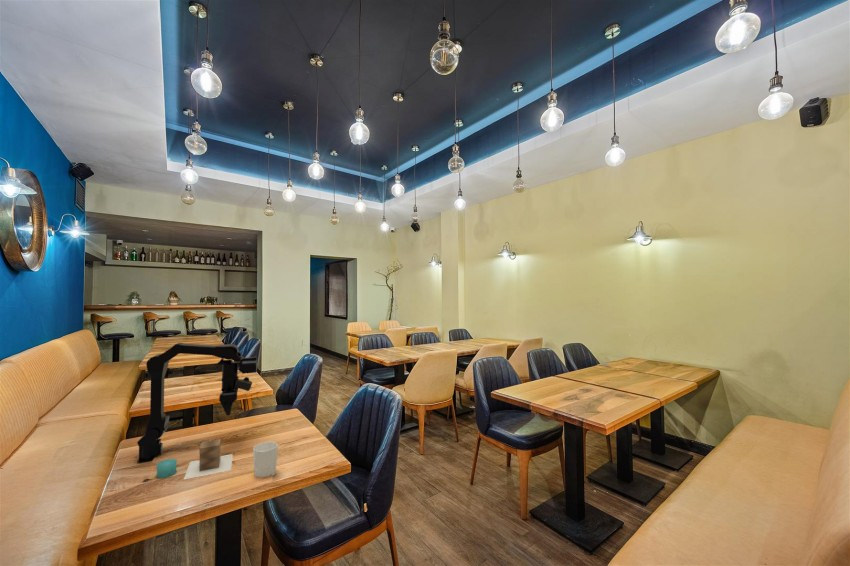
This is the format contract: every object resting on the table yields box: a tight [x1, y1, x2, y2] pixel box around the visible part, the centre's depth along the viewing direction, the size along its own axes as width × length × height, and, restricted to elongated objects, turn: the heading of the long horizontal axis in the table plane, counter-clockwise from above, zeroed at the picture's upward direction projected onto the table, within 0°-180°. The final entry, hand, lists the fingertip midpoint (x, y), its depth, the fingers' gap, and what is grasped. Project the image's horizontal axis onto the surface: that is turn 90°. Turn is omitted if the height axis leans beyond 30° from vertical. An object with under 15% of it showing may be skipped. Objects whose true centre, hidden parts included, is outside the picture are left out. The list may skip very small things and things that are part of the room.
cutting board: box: [183, 453, 234, 481], centre depth 127 cm, size 14×14×1 cm
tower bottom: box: [199, 450, 221, 471], centre depth 127 cm, size 6×6×4 cm
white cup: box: [252, 441, 279, 478], centre depth 122 cm, size 8×8×10 cm
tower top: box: [199, 438, 222, 460], centre depth 127 cm, size 6×6×4 cm
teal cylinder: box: [156, 458, 178, 479], centre depth 121 cm, size 6×6×5 cm
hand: (228, 411), depth 146 cm, fingers open, 9 cm apart
